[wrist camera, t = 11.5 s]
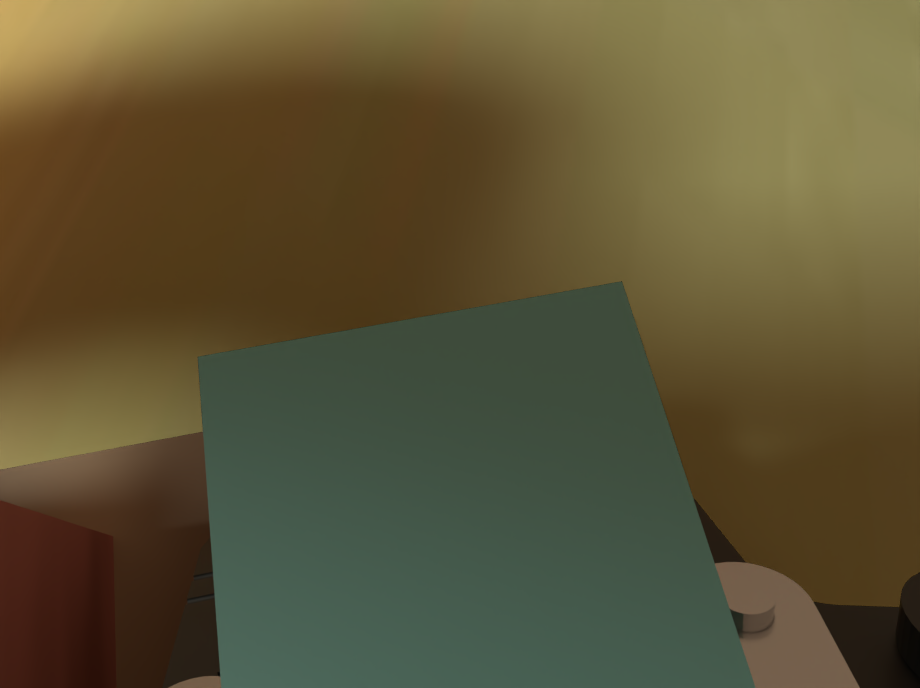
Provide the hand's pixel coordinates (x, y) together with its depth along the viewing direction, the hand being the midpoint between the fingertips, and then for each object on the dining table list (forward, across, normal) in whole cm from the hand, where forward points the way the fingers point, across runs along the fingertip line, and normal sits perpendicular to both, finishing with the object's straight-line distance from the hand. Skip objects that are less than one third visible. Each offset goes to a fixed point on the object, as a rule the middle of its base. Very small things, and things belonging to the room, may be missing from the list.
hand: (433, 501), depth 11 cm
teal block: (+2, 0, +5) cm, 5 cm away
